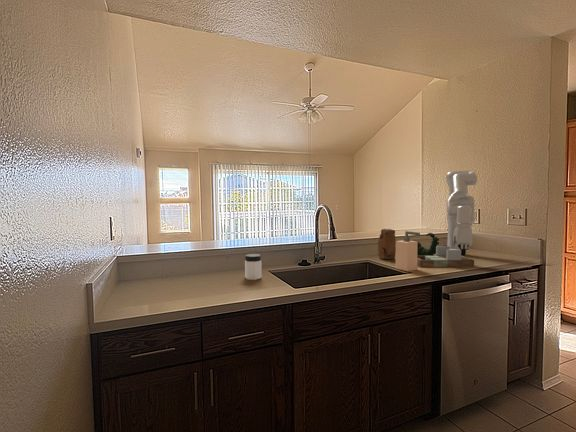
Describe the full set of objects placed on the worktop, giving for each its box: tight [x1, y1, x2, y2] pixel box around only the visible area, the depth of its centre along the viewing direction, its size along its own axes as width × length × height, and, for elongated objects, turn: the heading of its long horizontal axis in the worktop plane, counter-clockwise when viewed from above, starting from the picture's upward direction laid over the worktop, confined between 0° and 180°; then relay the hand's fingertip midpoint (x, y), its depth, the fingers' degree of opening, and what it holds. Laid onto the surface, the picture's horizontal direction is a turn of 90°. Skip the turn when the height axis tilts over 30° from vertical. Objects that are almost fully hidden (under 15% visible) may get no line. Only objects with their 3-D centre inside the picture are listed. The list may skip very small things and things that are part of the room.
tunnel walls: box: [435, 245, 462, 260], centre depth 199 cm, size 15×8×6 cm, turn 0°
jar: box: [244, 253, 263, 281], centre depth 168 cm, size 9×8×12 cm
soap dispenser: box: [394, 230, 421, 272], centre depth 184 cm, size 13×9×22 cm
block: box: [377, 228, 397, 260], centre depth 217 cm, size 11×8×20 cm
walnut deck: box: [417, 254, 475, 268], centre depth 199 cm, size 15×32×4 cm, turn 90°
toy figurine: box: [416, 232, 440, 256], centre depth 221 cm, size 9×19×25 cm
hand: (462, 255), depth 199 cm, fingers closed
